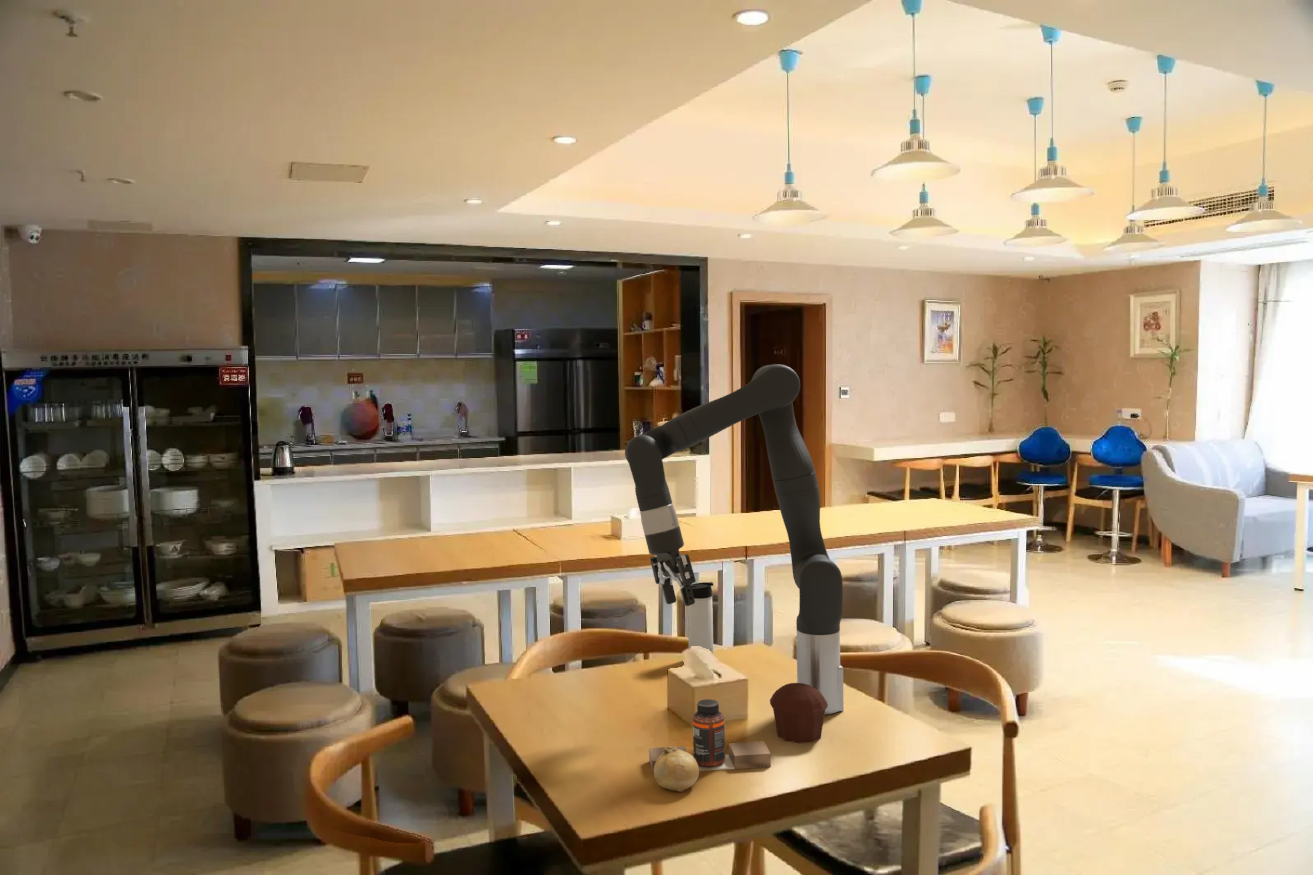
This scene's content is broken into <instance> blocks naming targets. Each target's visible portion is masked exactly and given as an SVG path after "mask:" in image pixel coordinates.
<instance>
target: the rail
mask: <svg viewBox="0 0 1313 875" xmlns="http://www.w3.org/2000/svg"><path fill="white" fill-rule="evenodd" d="M675 746H676V745H675ZM665 747H666V746H661V747H660V746H659V747H649V748H648V753H649V754H648V755H649V756H648V758H649V766H650V770H651V774H652V775H654V766H655V763H656V761H657V759H658V758H659V757H660V755H661V754H662V753H663V749H664V748H665ZM676 747H677V748H678V749H680V750H683V751H685V752H687V749H686V746H685V745H677V746H676ZM664 752H665V751H664ZM771 755H772V754H771V751H770V750H769V748H768V746H767V745H766V743H765V741H764V740H759V741H744V742H729V743H728V754H725V761H724V762H723V763H722V764H721V765H718V766H714V767H705V766H701V765H698V767H699V772H708V771H709V772H710V771H723V770H724V771H726V770H742V769H754V768H756V769H758V768H769V767H771V766H772V764H771V763H772V762H771V761H772V759H771V758H772V756H771Z"/></svg>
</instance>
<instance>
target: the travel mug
mask: <svg viewBox="0 0 1313 875" xmlns="http://www.w3.org/2000/svg"><path fill="white" fill-rule="evenodd" d="M712 587H714V582H713V581H709V582H708V581H707V582H706V581H704V582H695V583H692V585H691V588H692V592H693V596H694V600H695V603H694V604H692V605H689V606H687V625H688V628H687V630H688V634H687V635H688V636H687V637H688V649H689V648H690V647H691V646H701V647H703V648H706V649H709V650H710V651H711V652H712V653H713V654H714V623H713V622H714V621H713V620H714V619H713V618H714V615H713V614H714V613H713V589H712Z"/></svg>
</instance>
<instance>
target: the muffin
mask: <svg viewBox="0 0 1313 875" xmlns="http://www.w3.org/2000/svg"><path fill="white" fill-rule="evenodd" d="M769 704H770V706H771V708H772V710H773V716H774V722H775V728H776V734H777V737H778V738H780V739H782V740H783V741H785V742H791V743H796V744H804V743H805V744H806V743H814V742H815V741H817V740H820V739H822V732H823V726H824V725H823V724H824V719H825V718H824V717H825V715H824V713H825V709H826V708H827V706H828V704H827V701H826V700H825V698H824V696H823V695H822V694H821V693H820V692H819V691H818V690H817V689H815V688H813V687H812V686H810V685H807V684H804V683H797V682H790V683H787V684H784V685H781V687H779V688H778V689H776V691H775V692H773V694H772V696H771V697H770V699H769Z"/></svg>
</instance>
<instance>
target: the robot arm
mask: <svg viewBox="0 0 1313 875" xmlns="http://www.w3.org/2000/svg"><path fill="white" fill-rule="evenodd" d="M800 391H801V380H800V376H798V374H797V372H796V371H795V369H792V368H791V367H789V366H787V365H785V364H776V363H773V364H767V365H763V366H762V367H760V368H758V369H757V370H756V371H755V373H754V374H753V376H752V378H751V380H750V381H749V382H748V383H747V384H745V385H744V386H742V387H740V388H738V389H736V390H734V391H732V392H731V393H728V394H726V395H723V396H721V397H719V398H717V399H716V398H715V399H713V400H711V401H709V402H708V401H707V402H705V403H702V404H701V405H697V406H696V407H693V408H691V409H689V410H687V411H685V412H682V413H680V414H679V415H677V416H675V417H673V418H671V419H669V420H668V421H666V422H664V423H663V424H662V425H659V426H657V427H654V428H652V429H650V430H648V431H646V432H643V433H642V434H639V435H637V436H635V437H632V438H631V439H630V440H629V441H628V442H627V443H626V445H625V449H624V455H625V456H624V458H626V461H627V463H628V464H629V465H628V466H629V468H630V473H631V476H632V480H633V482H634V486H635V487H634V492H635V498H636V501H637V504H638V510H639V512H640V521H641V526H642V530H643V534H644V538H645V542H646V546H647V550H648V553H649V554H650V555H652V556H650V557H649V560H650V565H651V569H652V572H653V573H652V574H653V577H654V582H655V584H656V585H659V587H660V588H662V593H663V595H664V601H665V603H666V604H667V605H672V604H674V603H676V602H677V596H676V592H675V589H674V584H672V583H673V581H675V582H676V583H677V584H678V587H679V588H680V593H681V597H682V601H683V604H684V606H685V607H688V606H689V605H692V604H694V603H695V600H694V596H693V592H692V588H691V585H692V584H695V583H697V582H696V577H695V573H694V570H693V565H692V563H691V559H690V556H689V554H688V553H685V554H683V555H682V554H681V553H680V549H682V548H683V547H684V545H685V543H684V539H683V535H682V530H681V527H680V522H679V518H678V515H677V511H676V509H675V507H674V503H673V500H672V497H671V492H670V488H669V486H668V483H667V480H666V474H665V468H664V462H663V460H665V459H666V458H667V457H669V456H672V455H673V454H675V453H678V452H681V451H684V450H686V449H687V450H688V449H689V448H691V447H693V446H695V445H698V444H699V443H701V442H704V441H705V440H707V439H709V438H712V437H713V436H714V435H716V434H718V433H720V432H722V431H723V430H726V429H727V428H730V427H732V426H734V425H736V424H737V423H739V422H742V421H744V420H747V419H749V418H751V417H753V416H754V417H755V416H756V415H758V416H759V419H760V422H761V426H762V428H763V434H764V438H765V443H766V444H765V445H766V451H767V457H768V462H769V463H768V464H769V467H770V473H771V479H772V483H773V487H774V492H775V495H776V499H777V505H778V508H779V512H780V514H781V518H782V520H783V525H784V527H785V530H786V534H787V537H788V542H789V550H790V551H789V552H790V558H791V568H792V578H793V580H794V584H795V585H796V587H797V588H798V589H799V590H798V591H799V604H798V605H799V606H798V607H799V609H798V610H799V611H798V615H797V616H796V676H797V677H796V683H804V684H807V685H810V686H812V687H813V688H815V689H817V690H818V691H819V692H820V693H821V694H822V695H823V696H824V698H825V700H826V701H827V704H828V706H827V708H826V709H825V713H824V716H825V715H831V714H835V713H837V712H844V667H843V666H842V665H841V639H840V638H841V631H840V630H841V621H842V617H843V601H844V600H843V599H844V598H843V595H844V593H843V591H844V590H843V588H844V587H843V586H844V585H843V583H844V582H843V575H842V572H841V570H840V568H839V566H838V565H837V564H836V563H834V561H833V560H831V559H830V556H829V553H828V551H827V548H826V546H825V542H824V539H823V534H822V530H821V521H820V520H821V498H820V497H821V494H820V488H819V483H818V479H817V478H818V477H817V473H816V470H815V466H814V463H813V460H812V457H811V455H810V452H809V450H808V447H807V445H806V443H805V441H804V439H803V437H802V435H801V432H800V430H799V428H798V426H797V422H796V417H795V412H794V411H795V410H794V404H793V402H795V400H796V399H797V398H798V396H799V394H800Z"/></svg>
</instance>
